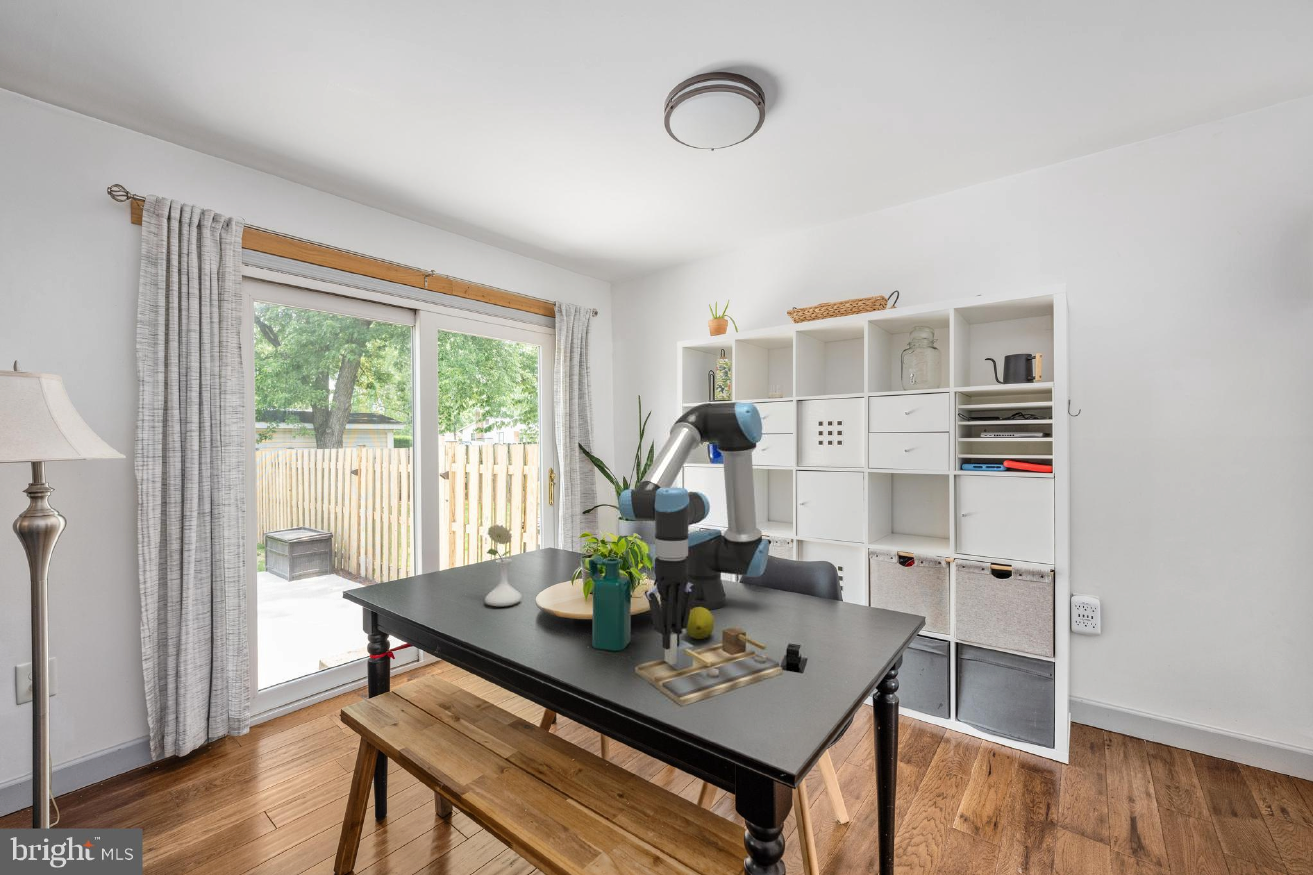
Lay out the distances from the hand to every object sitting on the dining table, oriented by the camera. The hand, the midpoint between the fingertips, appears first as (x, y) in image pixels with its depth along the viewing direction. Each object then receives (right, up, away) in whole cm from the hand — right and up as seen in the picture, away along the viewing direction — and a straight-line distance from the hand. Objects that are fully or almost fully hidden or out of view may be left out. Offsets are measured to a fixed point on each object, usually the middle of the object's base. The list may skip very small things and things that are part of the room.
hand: (670, 661), depth 122 cm
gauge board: (+9, -3, +1) cm, 9 cm away
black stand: (+29, -4, +6) cm, 30 cm away
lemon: (+8, -3, +22) cm, 23 cm away
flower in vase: (-52, -3, +50) cm, 73 cm away
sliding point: (+5, -2, -2) cm, 5 cm away
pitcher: (-15, -3, +17) cm, 23 cm away
